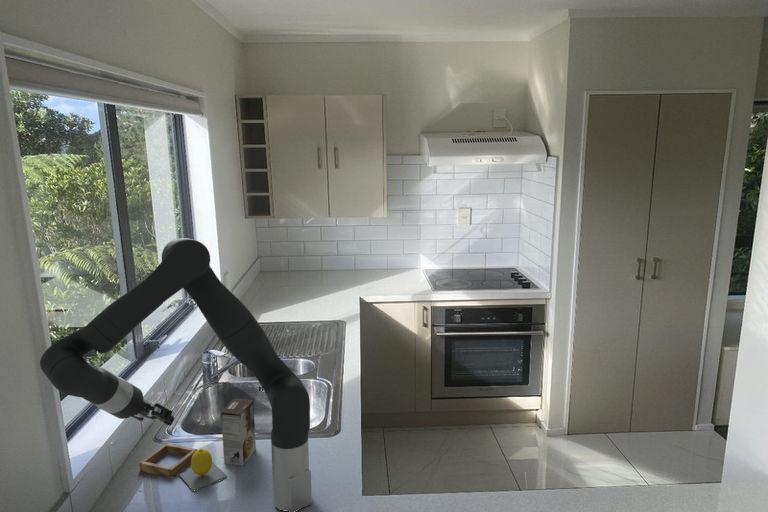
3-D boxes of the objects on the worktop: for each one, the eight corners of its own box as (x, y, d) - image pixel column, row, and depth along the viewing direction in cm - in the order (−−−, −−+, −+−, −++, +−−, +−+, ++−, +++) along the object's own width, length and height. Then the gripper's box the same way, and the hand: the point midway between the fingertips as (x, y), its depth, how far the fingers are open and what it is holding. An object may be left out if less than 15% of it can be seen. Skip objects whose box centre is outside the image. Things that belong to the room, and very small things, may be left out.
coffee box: (236, 447, 163) (233, 397, 160) (256, 449, 162) (254, 399, 159) (223, 464, 154) (219, 412, 151) (244, 466, 153) (241, 413, 150)
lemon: (195, 484, 144) (193, 456, 143) (189, 474, 149) (187, 447, 147) (215, 476, 147) (214, 450, 146) (209, 467, 152) (207, 441, 150)
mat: (227, 477, 148) (227, 475, 148) (193, 491, 142) (193, 490, 142) (212, 462, 155) (211, 461, 155) (178, 475, 149) (178, 474, 149)
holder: (197, 456, 158) (197, 449, 158) (172, 478, 148) (171, 469, 147) (166, 450, 161) (166, 443, 161) (139, 470, 151) (139, 462, 151)
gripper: (150, 384, 120) (187, 408, 133) (99, 377, 125) (140, 401, 138) (135, 417, 117) (175, 438, 129) (83, 408, 121) (127, 430, 134)
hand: (157, 419), depth 134 cm, fingers open, 8 cm apart
